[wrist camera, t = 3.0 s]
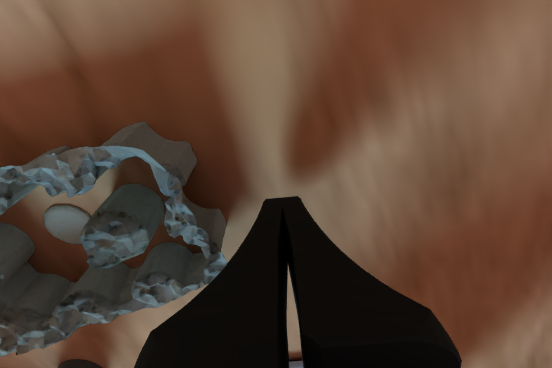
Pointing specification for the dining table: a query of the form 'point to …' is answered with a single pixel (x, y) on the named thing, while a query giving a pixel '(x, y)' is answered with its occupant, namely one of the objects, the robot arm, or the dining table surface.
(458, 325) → the dining table surface
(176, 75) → the dining table surface
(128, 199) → the egg carton
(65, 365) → the awl peg
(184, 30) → the dining table surface
